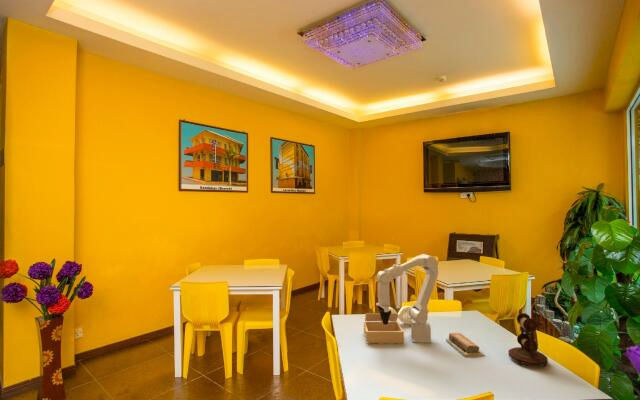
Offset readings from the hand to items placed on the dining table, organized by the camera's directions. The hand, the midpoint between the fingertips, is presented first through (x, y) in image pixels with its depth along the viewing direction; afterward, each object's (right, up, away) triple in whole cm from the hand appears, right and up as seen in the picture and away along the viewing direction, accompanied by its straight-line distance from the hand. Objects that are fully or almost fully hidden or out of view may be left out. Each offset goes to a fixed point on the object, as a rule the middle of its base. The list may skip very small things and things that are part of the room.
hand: (384, 321), depth 167 cm
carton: (0, -11, +5) cm, 12 cm away
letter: (+13, -11, +25) cm, 30 cm away
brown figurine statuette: (+59, -10, -22) cm, 64 cm away
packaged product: (+37, -10, -8) cm, 39 cm away
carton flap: (0, -2, +10) cm, 10 cm away
